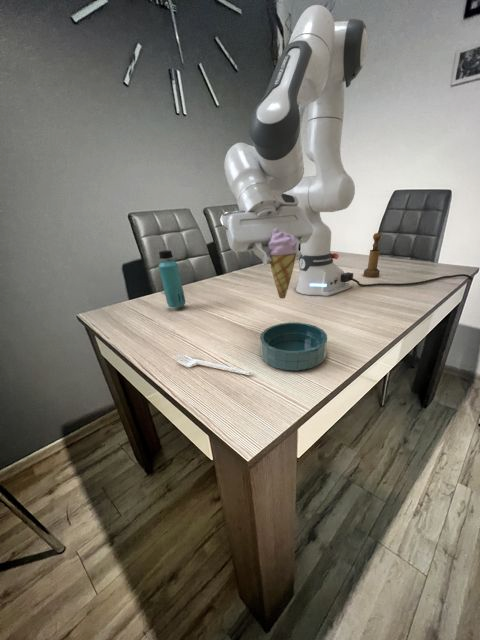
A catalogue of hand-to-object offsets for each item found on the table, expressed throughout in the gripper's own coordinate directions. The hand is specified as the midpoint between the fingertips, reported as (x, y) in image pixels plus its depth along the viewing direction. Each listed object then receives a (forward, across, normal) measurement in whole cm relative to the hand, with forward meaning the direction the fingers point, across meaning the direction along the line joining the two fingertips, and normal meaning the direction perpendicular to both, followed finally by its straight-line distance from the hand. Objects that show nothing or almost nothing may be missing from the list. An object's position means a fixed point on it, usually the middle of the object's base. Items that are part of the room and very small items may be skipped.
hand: (283, 260), depth 60 cm
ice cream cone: (+6, 0, +6) cm, 9 cm away
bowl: (+18, 0, +12) cm, 22 cm away
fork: (+15, -19, +16) cm, 29 cm away
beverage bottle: (-17, -17, +48) cm, 53 cm away
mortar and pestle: (-10, +68, +40) cm, 79 cm away
